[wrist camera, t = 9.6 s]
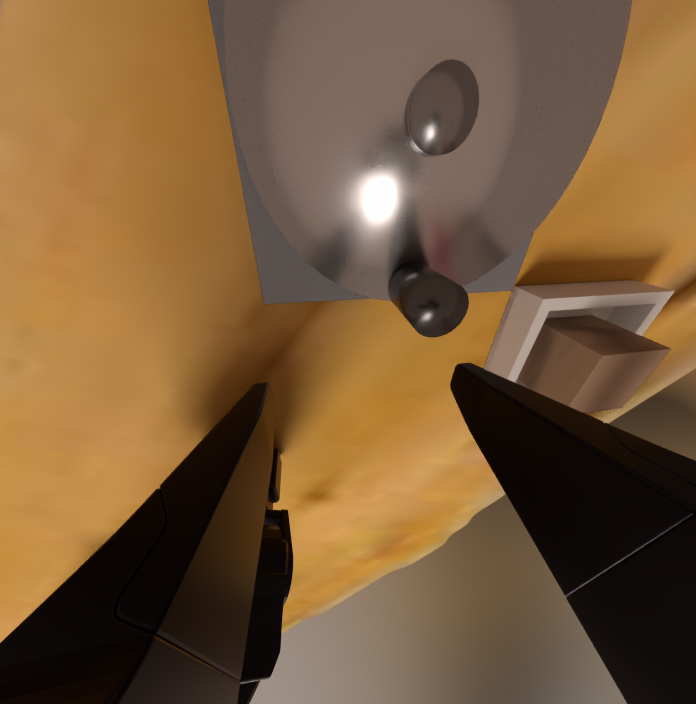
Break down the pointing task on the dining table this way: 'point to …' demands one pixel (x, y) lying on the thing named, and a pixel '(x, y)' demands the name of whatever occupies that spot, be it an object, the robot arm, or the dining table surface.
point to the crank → (417, 131)
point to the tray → (568, 315)
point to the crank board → (284, 261)
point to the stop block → (589, 362)
